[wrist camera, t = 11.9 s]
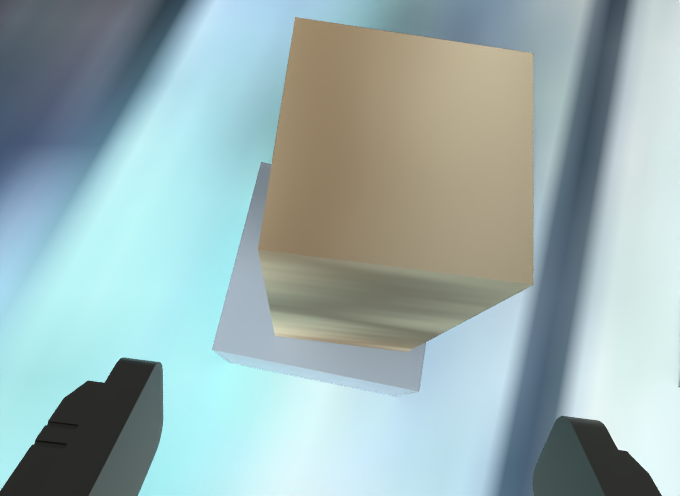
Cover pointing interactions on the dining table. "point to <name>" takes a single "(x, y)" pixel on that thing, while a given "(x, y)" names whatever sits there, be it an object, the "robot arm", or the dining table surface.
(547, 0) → the dining table surface
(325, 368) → the blue base block
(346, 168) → the oak block
